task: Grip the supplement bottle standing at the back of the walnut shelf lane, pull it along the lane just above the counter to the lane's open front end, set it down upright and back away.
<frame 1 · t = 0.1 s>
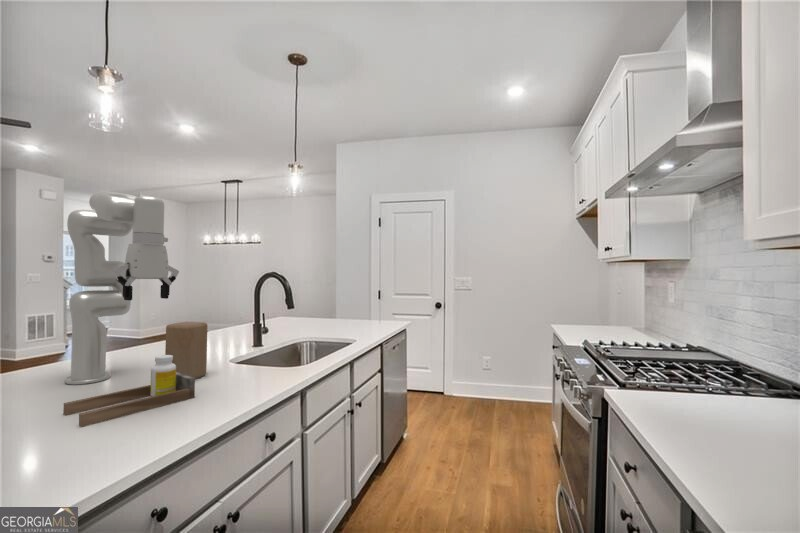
hand: (146, 299, 110), 31 cm above the counter, tool pointing down, fingers open, 9 cm apart
block: (186, 378, 139), on the counter
supplement bottle: (163, 398, 117), on the counter
shelf lane: (133, 405, 110), on the counter
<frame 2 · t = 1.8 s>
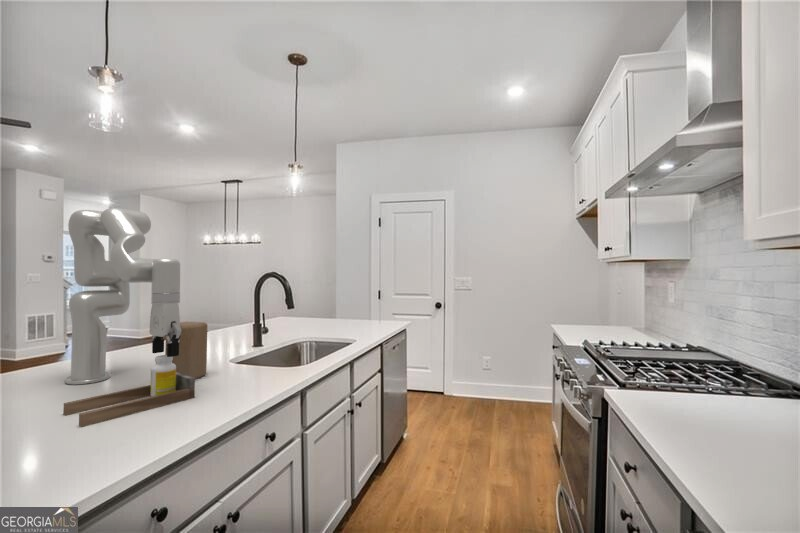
hand: (165, 354, 117), 14 cm above the counter, tool pointing down, fingers open, 9 cm apart
nothing on the counter moved.
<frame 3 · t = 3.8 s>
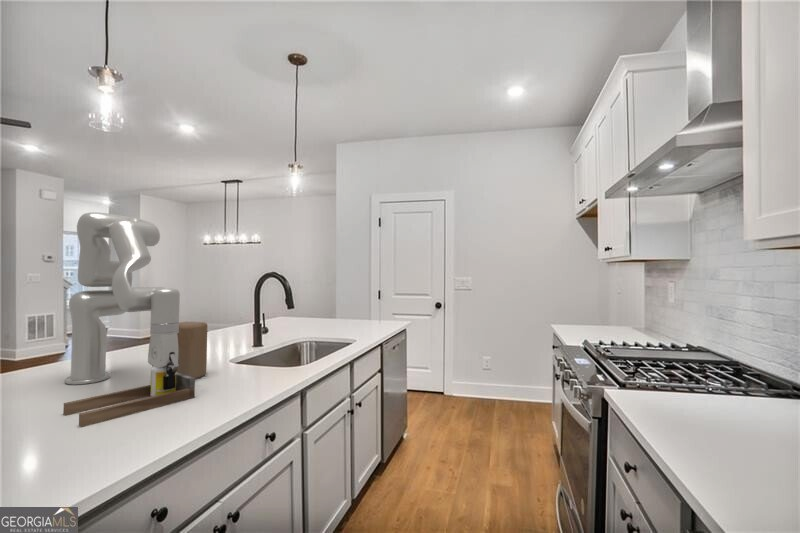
hand: (163, 386, 117), 4 cm above the counter, tool pointing down, fingers closed on supplement bottle, 6 cm apart
supplement bottle: (163, 398, 117), on the counter, touching gripper
everything else where it was.
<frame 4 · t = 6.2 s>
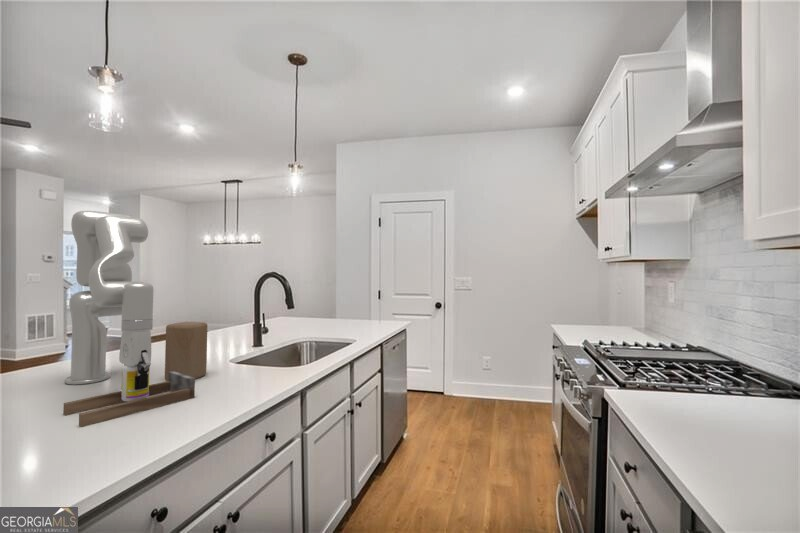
hand: (135, 385, 111), 6 cm above the counter, tool pointing down, fingers closed on supplement bottle, 6 cm apart
supplement bottle: (135, 399, 111), point 2 cm above the counter, touching gripper
everything else where it was.
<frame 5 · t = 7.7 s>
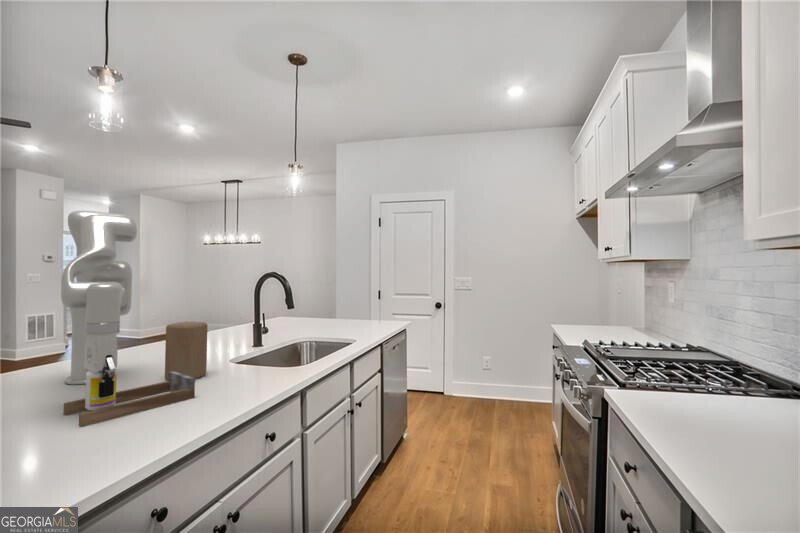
hand: (100, 392, 104), 6 cm above the counter, tool pointing down, fingers closed on supplement bottle, 6 cm apart
supplement bottle: (100, 407, 104), point 2 cm above the counter, touching gripper
everything else where it was.
when the fingers open (4 cm above the counter, at t = 9.0 s): supplement bottle stays where it is, on the counter.
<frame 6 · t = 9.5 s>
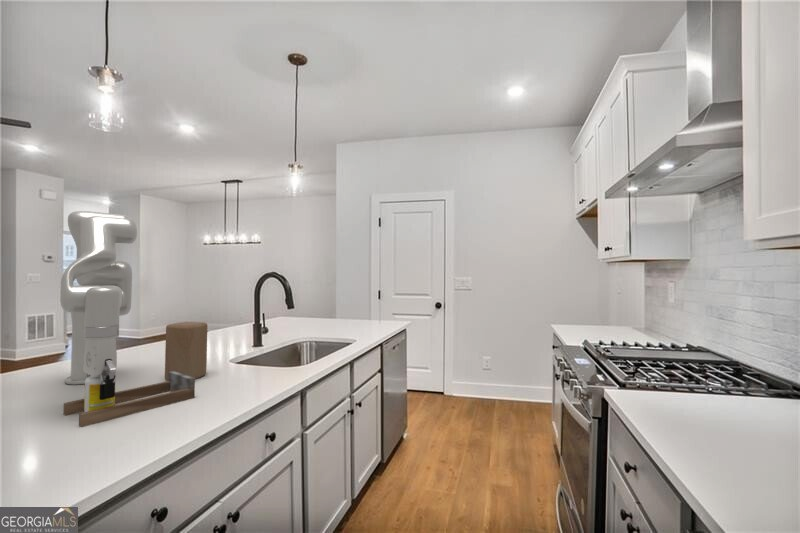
hand: (100, 394, 104), 5 cm above the counter, tool pointing down, fingers open, 9 cm apart
supplement bottle: (99, 414, 104), on the counter
everything else where it was.
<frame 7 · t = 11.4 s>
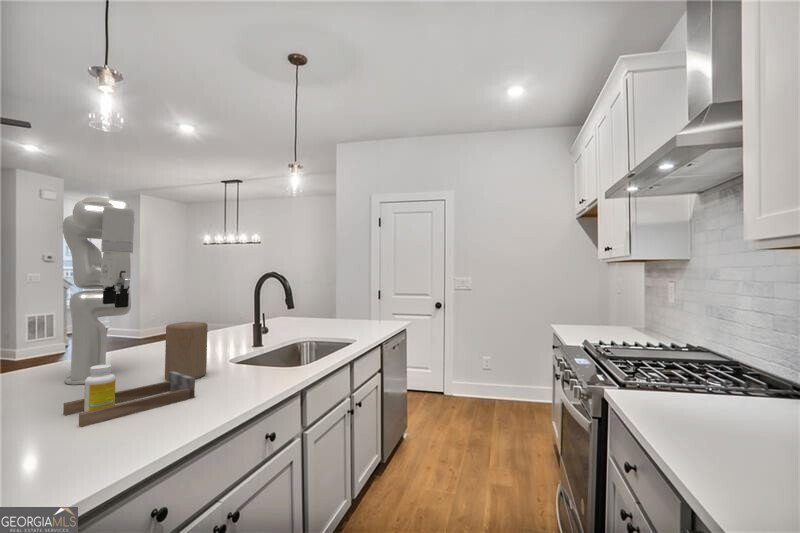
hand: (115, 305, 112), 29 cm above the counter, tool pointing down, fingers open, 9 cm apart
nothing on the counter moved.
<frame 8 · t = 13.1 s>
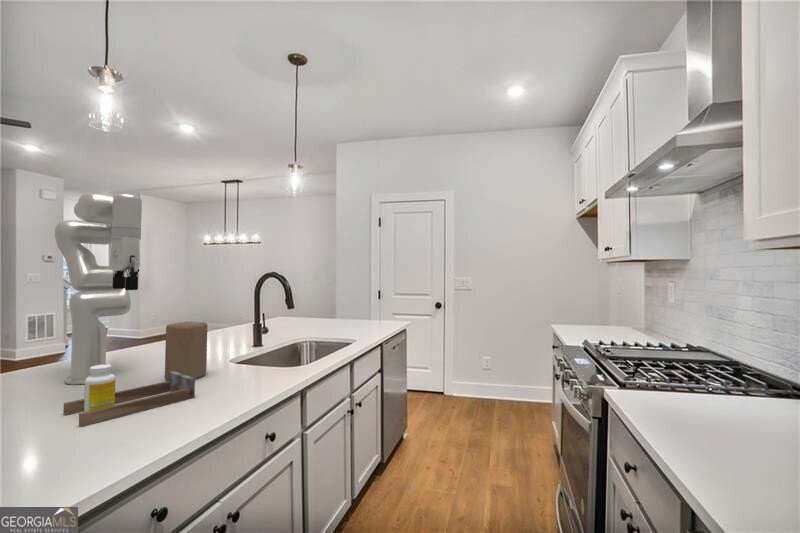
hand: (125, 289, 118), 33 cm above the counter, tool pointing down, fingers open, 9 cm apart
nothing on the counter moved.
at the end: supplement bottle inside the target area (0.3 cm from its centre), on the counter; supplement bottle tilted 0°; the gripper is holding nothing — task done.
